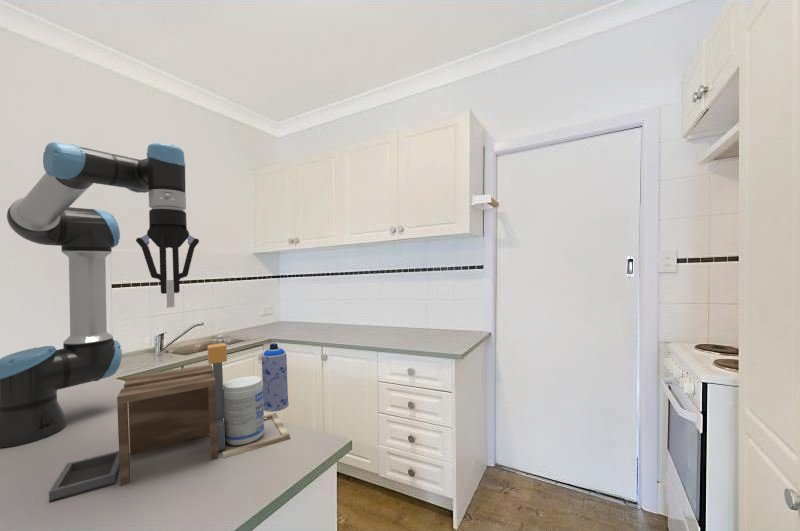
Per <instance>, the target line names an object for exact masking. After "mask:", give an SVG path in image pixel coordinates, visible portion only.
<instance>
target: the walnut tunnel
mask: <svg viewBox="0 0 800 531" xmlns="http://www.w3.org/2000/svg"><path fill="white" fill-rule="evenodd" d="M116 403H117V406H116V407H117V431H118V433H117V434H118V436H117V437H118V451H119V466H120V472H119V486H120V487H122V486H125V485H128V484H129V485H130V482H131V465H130V461H131V459H130V458H131V457H130V456H131V455H135V454H139V453H142V452H146V451H151V450H155V449H158V448H162V447H167V446H170V445H174V444H178V443H183V442H186V441H190V440H194V439H199V438H203V437H207V436H209V455H210V456H209V457H210V461H213V460H216V459H218V458H219V451H218V445H217V416H216V388H215V377H214V373H213V364H209V363H208V364H203V365H197V366H191V367H185V368H179V369H173V370H172V369H171V370H165V371H159V372H153V373H147V374H140V375H133V376H132V375H131V376H128V377H127V379H126V380H125V382H124V384H123V388H120V391H119V393H118V394H117V397H116Z"/></svg>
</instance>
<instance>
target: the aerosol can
mask: <svg viewBox="0 0 800 531" xmlns="http://www.w3.org/2000/svg"><path fill="white" fill-rule="evenodd" d="M287 356H288V354H287V352H286V351H285V350H284V349H283V348H281V347H279V346H278V343H270V344H269V348H267V349H266V350H265V351H264V352H263V353H262V356H261V376H262V377H261V379H262V386H263V412H268V413H276V412H279V411H283V410H285V409H286V408H288V407H289V404H290V403H289V390H288V388H289V386H288V384H289V383H288V363H287V362H288V361H287V360H288V358H287Z"/></svg>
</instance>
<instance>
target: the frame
mask: <svg viewBox="0 0 800 531" xmlns="http://www.w3.org/2000/svg"><path fill="white" fill-rule="evenodd" d="M264 418H267V420H266V419H265V420H264V421H268V420H272V423H273V424H274V426H275V427H276V429H277V431H278V433H279V434H280V435H277V436H274V437H269V438H266V439H263V440H262V439H261V440H259V441H256V442H255V441H254V442H251V443H247V444H243V445H240V446H237V447H235V448H230V449H227V450H226V449H225V450H222V452H221V453H222V454H221V455H222V458H224V459H225V458H227V457H230V456H231V457H232V456H233V455H234V456H235V455H237V454H240V453H245V452H248V451H251V450H255V449H260V448H262V447H263V448H264V447H265V446H270V445H273V444H277V443H280V442H283V441H287V440H290V439H291V435H290V433H289V432H288V430H287V428H286V427H285V425H284V423H283V422H282V420H281V419H280V417H279V416H278V414H277V413H276V412H272V413H269V414H265V415H264ZM273 420H274V421H273ZM276 421H278V422H276ZM280 422H282V423H280Z"/></svg>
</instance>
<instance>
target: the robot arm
mask: <svg viewBox="0 0 800 531" xmlns="http://www.w3.org/2000/svg"><path fill="white" fill-rule="evenodd" d="M146 151H147V152H146V157H147V158H144V159H138V158H134V157H129V156H124V155H118V154H115V153H110V152H106V151H101V150H97V149H96V150H95V149H93V148H87V147H83V146H79V145H76V144H70V143H69V144H68V143H62V142H56V141H53V142H48V144H46V146H45V148H44V152H43V157H42V164H43V168H44V172H45V173H44V174H43V176H41V178H40V179H39V180H38V182H37V183H36V184H35V185H34V186H33V187H32V188H31V190H30V191H29V192H28V193H27V194H26V196H24V197H20V198H18V199H16V200H14V202H13V203H12V204H11V205H10V206H9V208H8V209H7V213H6V219H7V220H6V221H7V222H8V225H9V226H10V229H12V230H13V231H14V232H15V233H16V234H17V235H18V236H20V237H22V238H23V239H24V240H26V241H30V242H32V243H35V244H38V245H43V246H57V247H58V246H59V247H60V246H61V252H62V253H63V254H64V255H65V256H66V257H67V258H68V281H69V282H68V285H69V286H68V288H69V289H68V291H69V292H68V293H69V295H68V296H69V297H68V298H69V336H68V337H67V338H66V339H65V340H63V343H62V345H63V348H60V349H57V347H55V346H53V345H45V346H40V347H32V348H28V349H27V348H26V349H23V350H19V351H16V352H13V353H10V354H8V355H5V356H3V357H1V358H0V449H1V448H2V449H3V448H9V447H15V446H19V445H25V444H29V443H31V442H35V441H39V440H41V439H44V438H47V437H50V436H53V435H55V434H57V433H58V432H60V431H61V430H63V429H65V428H66V426H67V417H66V415H65V413H64V410H63V408H62V407H61V404H60V403H59V401H58V391H59V390H62V389H68V388H71V387H75V386H79V385H83V384H87V383H92V382H98V381H100V380H103V379H106V378H110V377H111V376H114V375H115V374H116V373H117V371H118V370H119V368H120V366H121V363H122V357H123V356H122V355H123V351H122V348H121V347H122V346H121V344H120V342H119V341H118V340H115V339H114V336H113V335H112V334H111V333H109V332H108V329H107V328H108V327H107V326H108V324H107V322H108V321H107V319H108V317H107V277H106V276H107V274H106V273H107V271H106V270H107V269H106V267H107V265H106V264H107V263H106V259H107V257H108V256H109V255H110V254H112V249H113V248H115V247H118V245H119V243H120V239H121V232H120V227H119V224H118V222H117V218H115V216H114V215H113V214H112V213H110V212H108V211H106V210H100V209H94V208H84V207H83V208H81V207H71V206H72V205H73V204H74V202H76V201H77V199H79V198H80V197H81V196H82V195H83V194H84V193H85V192H86V191H87V190H88V189H89V188H90V187H92V185H93V184H98V185H104V186H111V187H119V188H124V189H126V190H128V191H131V192H133V193H144V194H145V193H148V207H149V208H150V210H148V220H149V221H148V222H149V223H148V224H149V228H148V229H147V231H146V234H145V235H143V236H141V237H137V238H135V242H136V243H137V244H138V245H139V246H140V248H141V249H142V253H143V256H144V259H145V262H146V265H147V268H148V271H149V274H150V276H151V278H153V279H155V280H156V279H157V280H159V281H160V293H161V295H162V294H163V295H164V294H165V295H166V308H169V309H170V308H175V307H176V306H175V305H176V304H175V294H179V293H180V286H181V285H180V280H181V279H184V278H186V277H187V276H188V275H189V270H190V268H191V263H192V259H193V256H194V250H195V248H196V246H197V245H199V243H200V239H199V238H195V237H193V236H192V235H190V231H189V230H188V228H187V227H188V226H187V213H186V211H185V210H186V209H187V198H186V197H187V195H186V162H185V153H184V151H183V149H182V148H180V147H178V146H176V145H173V144H170V143H169V144H168V143H163V142H154V143H153V142H152V143H150V144H148V146H147V150H146ZM150 240H151V241H152V242H153V243H154V244H155V245H156V246H157V247H158V248H159V273H158V272H157V269H156V265H155V261H154V258H153V257H152V253H151V250H150V247H149V244H150ZM186 240H187V244H188V245H189V246H188V249H187V252H186V256H185V260H184V265H183V269H182V272H180V260H179V258H180V257H179V248H180V247H181V246H182V245H183V244H184V243H185V242H186ZM169 248H170V249H171V250H172V275H173V276H172V278H173V279H167V278H168V276H167V275H168V274H167V269H168V268H167V249H169Z"/></svg>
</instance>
